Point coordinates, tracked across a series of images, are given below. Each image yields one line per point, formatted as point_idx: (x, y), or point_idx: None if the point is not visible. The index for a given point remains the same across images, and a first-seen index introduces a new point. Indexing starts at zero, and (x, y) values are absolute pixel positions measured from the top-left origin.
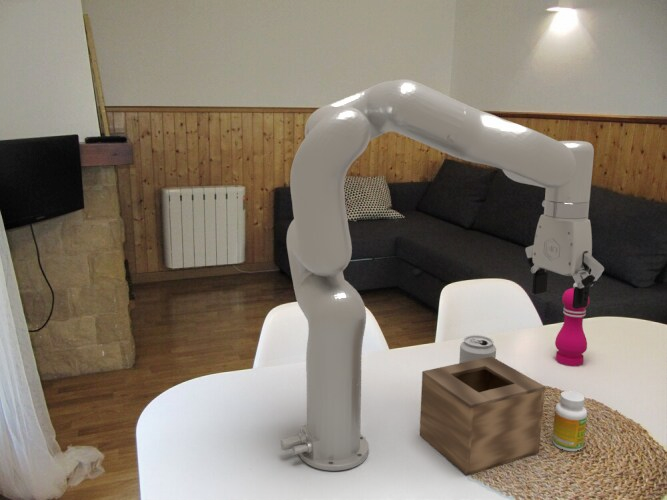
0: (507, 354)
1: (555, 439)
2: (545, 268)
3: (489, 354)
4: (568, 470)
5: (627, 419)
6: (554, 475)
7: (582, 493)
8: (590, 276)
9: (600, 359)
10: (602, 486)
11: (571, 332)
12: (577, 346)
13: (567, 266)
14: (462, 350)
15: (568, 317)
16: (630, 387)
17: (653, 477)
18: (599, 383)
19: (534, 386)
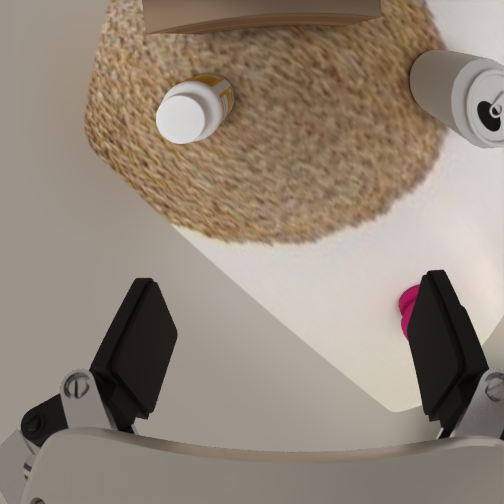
0: (490, 239)
1: (207, 74)
2: (342, 462)
3: (449, 95)
4: (146, 53)
5: (242, 238)
6: (142, 26)
7: (99, 43)
8: (26, 433)
9: (392, 331)
10: (105, 78)
11: None
12: (408, 320)
13: (59, 493)
14: (494, 61)
15: None
16: (314, 308)
17: (110, 157)
18: (346, 285)
19: (154, 7)
